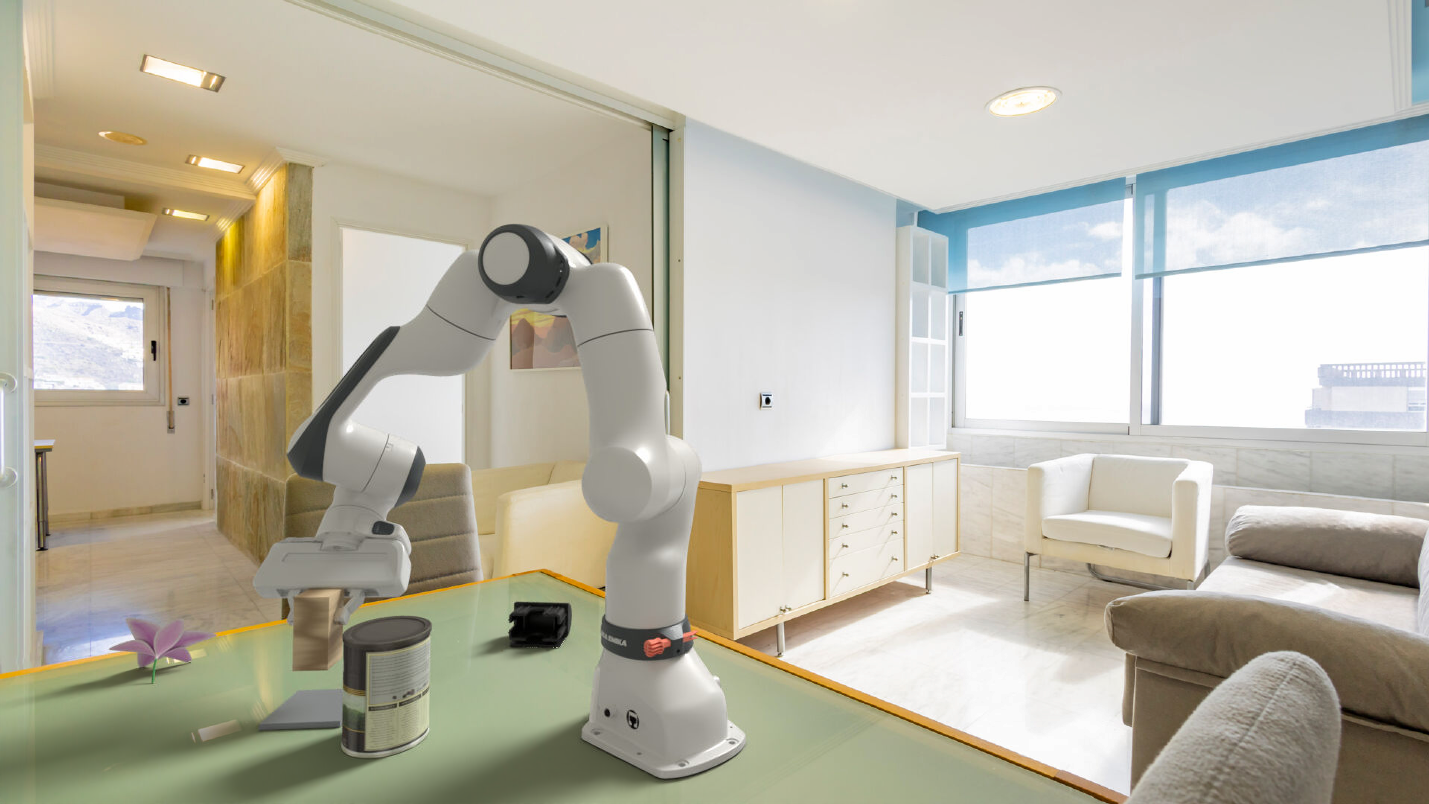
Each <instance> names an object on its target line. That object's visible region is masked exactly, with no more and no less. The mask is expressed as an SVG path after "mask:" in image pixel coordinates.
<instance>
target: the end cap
mask: <svg viewBox="0 0 1429 804" xmlns="http://www.w3.org/2000/svg"><path fill="white" fill-rule="evenodd" d="M572 610H573V609H572V605H571V604H570V603H569V602H556V601H555V602H553V601H552V602H551V601H550V602H549V601H545V602H544V601H515V602H514V603H513V611H512V612H511V613H510V614H509V616H508V624H512V623H513V625H512V626H511V627H510V629H509V630H508V632H507V634H508V639H509V640H510V642H509V647H510V648H526V649H528V648H527V647H529V648H530V647H531V649H533V648H534V647H535V648H534V649H557V648H556V647H560V646H561V644H562V643H563V641H564V640H565V641H566V639H567V637H568V636H569V635H570V632H571V627H572V621H573V620H572V619H573V611H572ZM565 638H566V639H565ZM565 641H564V642H565ZM563 644H564V643H563ZM563 644H562V645H563ZM532 647H533V648H532ZM536 647H537V648H536ZM553 647H554V648H553ZM561 647H562V646H561ZM561 647H560V648H561Z"/></svg>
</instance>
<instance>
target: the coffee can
mask: <svg viewBox="0 0 1429 804" xmlns="http://www.w3.org/2000/svg"><path fill="white" fill-rule="evenodd" d="M432 629H433V623H432V621H430V620H429V619H427V618H424V617H421V616H417V615H416V616H415V615H392V616H384V617H378V618H374V619H373V618H372V619H370V620H366V621H362V622H360V623H357V624H355V625H352V626H351V627H349V628H347V629H346V630H345V631H343V636H342V639H343V652H342V659H343V661H342V662H343V663H342V665H343V666H342V689H343V711H342V725H341V732H342V733H341V743H340V746H341V747H340V748H341V750H342V752H343V753H345V754H346V755H347V756H349V757H353V758H356V759H378V758H385V757H390V756H393V755H397V754H401V753H404V752H406V751H407V750H410V749H412V748H414V747H416V746H418V745H419V744H420V743H422V742H423V741H424V740H425V739H426V738H427V737H428V734H429V733H430V685H431V684H430V683H431V681H430V680H431V679H430V678H431V636H432V635H431V632H432Z"/></svg>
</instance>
